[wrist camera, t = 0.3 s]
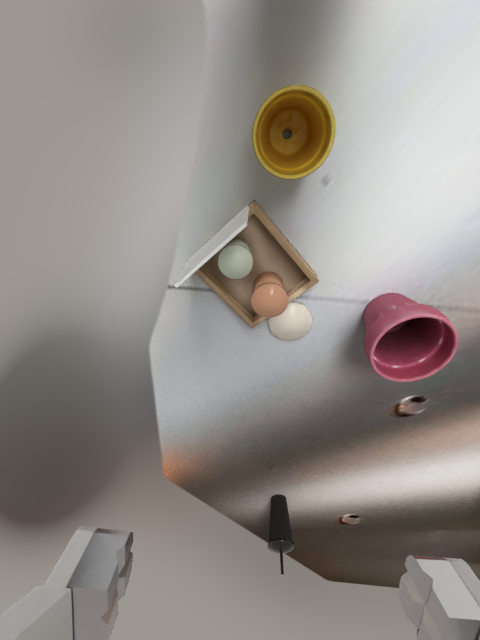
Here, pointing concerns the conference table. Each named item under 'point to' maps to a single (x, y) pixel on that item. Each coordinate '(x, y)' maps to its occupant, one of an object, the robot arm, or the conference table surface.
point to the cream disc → (291, 322)
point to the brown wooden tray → (259, 267)
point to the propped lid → (214, 244)
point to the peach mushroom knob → (269, 295)
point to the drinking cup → (280, 528)
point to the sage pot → (236, 258)
